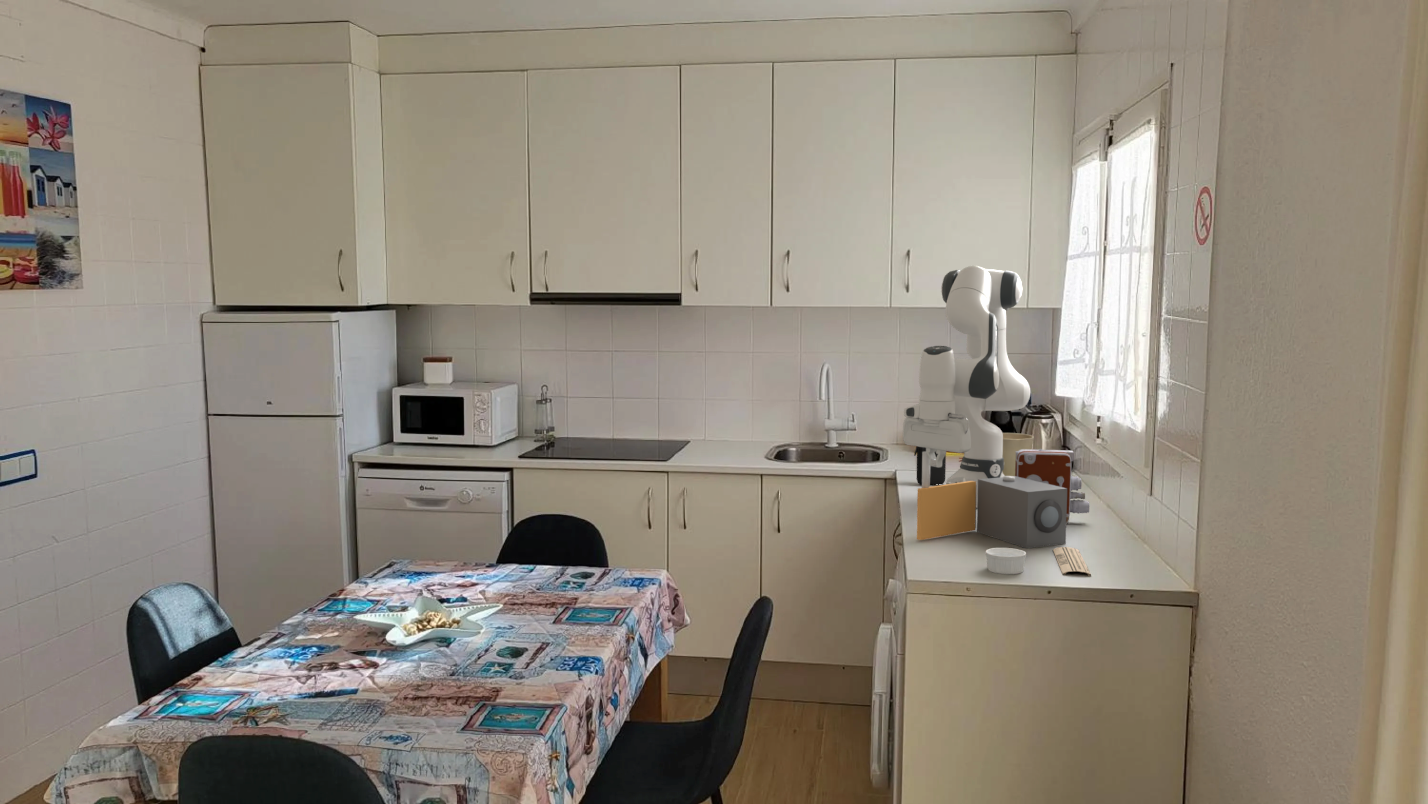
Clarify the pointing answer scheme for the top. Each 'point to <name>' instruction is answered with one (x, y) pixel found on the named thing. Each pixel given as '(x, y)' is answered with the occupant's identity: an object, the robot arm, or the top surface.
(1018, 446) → the plant pot
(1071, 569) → the newspaper
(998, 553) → the ramekin
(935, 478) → the carrying case or bag
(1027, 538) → the box
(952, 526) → the door
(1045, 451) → the cine camera
